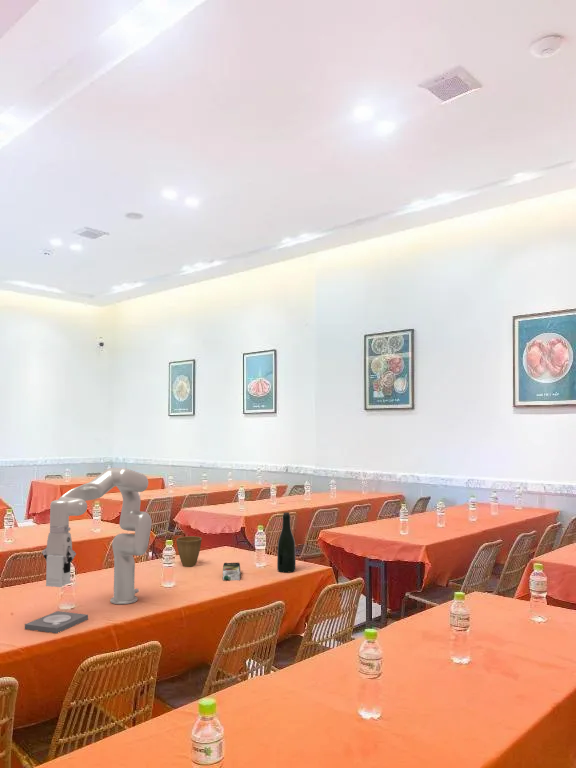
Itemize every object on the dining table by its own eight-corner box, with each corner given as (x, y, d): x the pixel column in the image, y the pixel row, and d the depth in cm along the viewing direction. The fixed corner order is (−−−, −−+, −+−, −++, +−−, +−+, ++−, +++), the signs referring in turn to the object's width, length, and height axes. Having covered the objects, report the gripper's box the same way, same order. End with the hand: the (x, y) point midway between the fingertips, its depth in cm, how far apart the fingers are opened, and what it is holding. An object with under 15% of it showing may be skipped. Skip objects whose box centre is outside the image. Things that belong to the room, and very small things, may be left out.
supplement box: (61, 587, 270) (62, 556, 271) (45, 586, 272) (45, 555, 272) (70, 583, 277) (71, 553, 278) (55, 582, 279) (55, 552, 279)
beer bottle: (274, 569, 375) (274, 512, 377) (290, 568, 379) (290, 511, 382) (281, 573, 366) (281, 514, 368) (298, 571, 370) (298, 513, 372)
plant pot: (176, 563, 392) (177, 536, 393) (201, 562, 394) (201, 536, 395) (175, 568, 378) (175, 540, 379) (201, 568, 379) (201, 540, 380)
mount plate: (57, 615, 285) (57, 608, 286) (87, 619, 280) (88, 612, 280) (24, 629, 267) (24, 621, 267) (56, 633, 261) (56, 625, 261)
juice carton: (240, 581, 349) (240, 569, 350) (222, 581, 348) (222, 570, 349) (240, 573, 369) (240, 562, 370) (222, 573, 368) (222, 562, 369)
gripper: (82, 529, 276) (81, 571, 275) (48, 527, 282) (47, 568, 281) (70, 532, 269) (69, 575, 268) (36, 529, 275) (35, 572, 274)
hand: (58, 571), depth 275 cm, fingers closed on supplement box, 8 cm apart
